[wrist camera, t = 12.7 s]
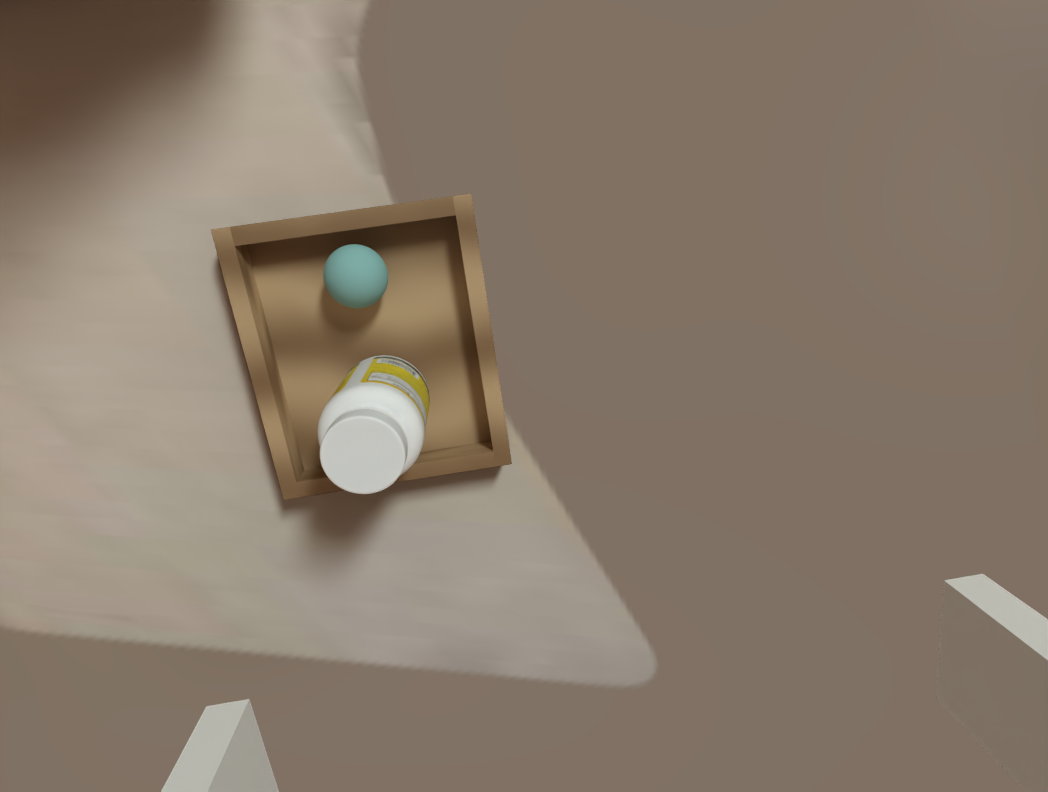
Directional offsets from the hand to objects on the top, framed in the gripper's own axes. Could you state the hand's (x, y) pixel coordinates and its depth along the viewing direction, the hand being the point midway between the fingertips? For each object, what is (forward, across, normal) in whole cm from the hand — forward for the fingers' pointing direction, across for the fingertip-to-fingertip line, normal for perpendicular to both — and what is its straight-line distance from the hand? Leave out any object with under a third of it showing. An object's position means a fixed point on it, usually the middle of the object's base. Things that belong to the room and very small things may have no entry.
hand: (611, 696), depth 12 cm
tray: (+29, -8, +2) cm, 30 cm away
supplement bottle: (+28, -8, -1) cm, 29 cm away
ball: (+28, -8, +6) cm, 30 cm away
